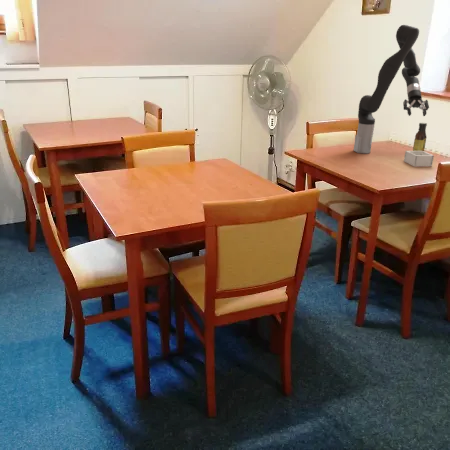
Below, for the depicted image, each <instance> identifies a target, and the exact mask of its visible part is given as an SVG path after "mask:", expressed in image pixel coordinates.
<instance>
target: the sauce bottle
mask: <svg viewBox="0 0 450 450" xmlns="http://www.w3.org/2000/svg"><path fill="white" fill-rule="evenodd" d="M427 126H428V123H426V122H419V124H418V131H417V132H416V133H415V136H414V141H413V145H412V146H413V147H412V151H425V149H426V142H427V132H426V130H427V129H426V128H427Z"/></svg>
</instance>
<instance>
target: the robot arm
mask: <svg viewBox="0 0 450 450" xmlns="http://www.w3.org/2000/svg"><path fill="white" fill-rule="evenodd" d="M419 34H420V29H419V28H418V27H416V26H412V25H409V24H402V25H400V26H399V27H398V28H397V30H396V34H395V39H396V42H397V44H398V48H399V50H398V51H396V52H395V53H394V54H392V55H391V56H390V57H388V58H387V59H386V60H384V62H383V64H382V66H381V67H380V69H379V72H378V75H377V85H376V87H375V89H374V91H373V93H372V95H370V94H369V95H368V94H366V95H363V96H362V97H361V99H360V100H359V104H358V112H357V118H358V123H357V124H358V125H357V131H356V135H355V137H354V143H353V151H354V152H356V153H357V154H370V153H371V150H372V143H373V137H374V130H375V124H376V118H375V117H374V115H373V113H375V112H377V111H378V110H379V109H380V107H381V105H382V102H383V100H384V99H385V96H386V94H387V92H388V89H389V88H390V86H391V84H392V82H393V81H394V78H395V77H396V75H397V74H398V72H399V70H400V69H401V68H400V67H401V66H402V64H403V66H404V67H403V68H402V69H401V76H402V78H403V79H404V81H405V83H406V94H407V98H406V99H404V101H403V110H404V111H407V112H406V113H407V115H408V117H411V116H412V109H411V108H413V109H415V108H416V109H420V110H421V111H422V116H423V117H425V116H426V115H427V111H428V110H429V109H430V104H429V101H428V99H425V100H423V99H422V98H423V97H422V91H421V87H420V83H419V82H420V81H419V78H418V77H417V76H419V75H420V73H421V68H420V66H419V64H418V63H417V57H416V53H415V51H414V49H413V46H414V45H415V43H416V41H417V40H418V37H419V36H420V35H419ZM408 105H409V106H408Z"/></svg>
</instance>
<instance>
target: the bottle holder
mask: <svg viewBox="0 0 450 450" xmlns="http://www.w3.org/2000/svg"><path fill="white" fill-rule="evenodd" d="M434 157H435V156H434V154H432V153H429V152H427V151H425V150H424V151H413V150H405V151H404V158H403V162H404V163H406V164H409V165H411V166H412V167H432V166H433V162H434Z"/></svg>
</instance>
